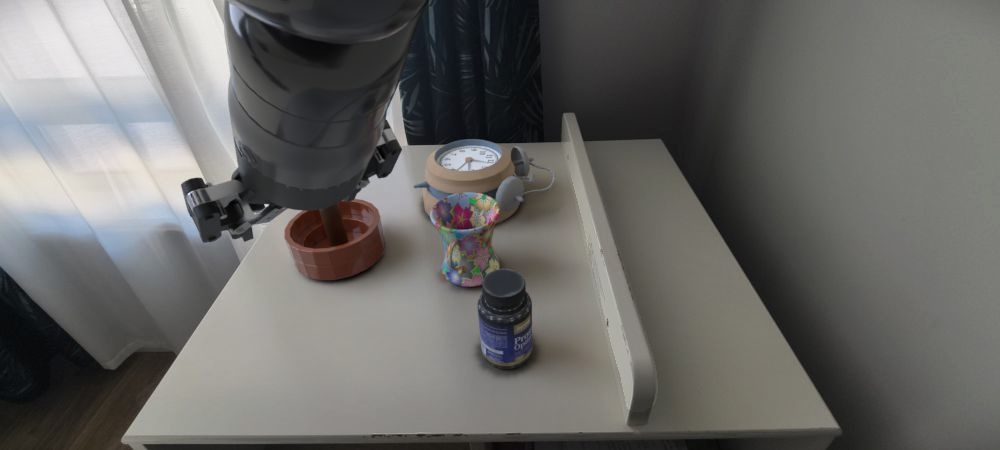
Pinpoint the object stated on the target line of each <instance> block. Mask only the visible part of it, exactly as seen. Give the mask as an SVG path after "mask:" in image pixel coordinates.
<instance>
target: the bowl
mask: <svg viewBox="0 0 1000 450" xmlns="http://www.w3.org/2000/svg"><path fill="white" fill-rule="evenodd" d="M338 204H339V207H340V211H341V214H342V218H343V222H344V225H345V229H346V232H347V236H348V240H349V242H348V243H346V244H344V245H339V246H335V247H330V244H329V240H328V237H327V234H326V231H325V227H324V224H323V221H322V218H321V214H320V211H319V210H310V211H303V210H300V212H298V213H297V214H295V216H293V217H292V218H290V220H289V221H288V223H287V225H286V226H285V228H284V234H283V235H284V241H285V244H286V246H287V249H288V251H289V254H290V257H291V260H292V262H293V265H294V267H295V269H296V270H297V272H298V273H299V274H301V275H302V276H305V277H306V278H308V279H312V280H317V281H337V280H342V279H345V278H349V277H354V276H355V275H357V274H360V273H362V272H364V271H366V270H368V269H369V268H370V267H371V266H374V265H375V264H376V263H377V262H378V261H379V260H380V259H381V257H382V256H383V254H384V253H385V249H386V246H387V241H386V236H385V232H384V228H383V223H382V219H381V214H380V211H379V209H378V208H377V207H376V206H375V205H374V204H373V203H372V202H369V201H367V200H364V199H359V198H355V199H354V200H352V201H350V202H347V203H346V202H345V201H344V200H342V201H340V202H339V203H338Z"/></svg>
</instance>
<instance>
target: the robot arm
mask: <svg viewBox="0 0 1000 450" xmlns="http://www.w3.org/2000/svg"><path fill="white" fill-rule="evenodd" d="M429 1H430V0H223V33H224V40H225V46H226V53H227V60H228V67H229V79H228V86H227V104H228V113H229V119H230V125H231V131H232V136H233V143H234V144H233V145H234V149H235V156H236V162H237V167H236V169H235V170H234V171H233V173H232V174H231V177H230V178H231V179H230V180H227V181H223V182H221V183H217V184H214V185H213V183H212V182H211V181H208V182H206V183H205V180H204V179H203V178H202V177H191V178H188V179H186V180H184V181H182V183H181V184H180V188H181V192H182V195H183V200H184V202H185V206H186V210H187V212H188V215H189V216H190V218H191V219H192V221H193V223H194V225H195V227H196V229H197V232H198V234H199V238H200V240H201V241H202V243H204V244H205V243H213V242H215V241H217V240H218V239H220V238H221V237H222V235H223V234H222V232H224V231H225V232H226V231H228V233H229V236H230V237H231V239H232V240H238V239H241V238H242V240H243V243H246V242H248V241H251V240H253V239H254V232H253V226H255V225H261V224H267V223H270V222H271V221H273V220H275V218H277V217H278V216H280V215H281V214H282V213H283V212H285V211H286V210H288V209H289V210H294V211H310V210H319V209H323V208H327V207H330V206H332V205H335V204H337V203H339V202H340V201H342V200H344V201H345V202H346V203H347V202H350V201H352V200H354V199H356V197H357V195H358V193H360V192H361V191H362V189H364V188H366V187H367V186H368V185H369V184H370V183H371V180H369V179H371V178H372V177H374V176H376V177H377V179H386V178H388V177H389V175H391V174H392V172H393V171H394V168H395V166H396V163H397V161H398V160H399V158H400V155H401V153H402V152H403V148H402V146H401V144H400V143H399V140H398V139H397V136H396V134H395V132H394V131H393V129H392V127H391V125H390V123H389V121H388V119H387V114H388V110H389V107H390V106H391V103H392V101H393V99H394V96H395V93H396V91H397V89H398V87H399V84H400V82H401V79H402V76H403V74H404V70H405V67H406V63H407V59H408V56H409V53H410V49H411V46H412V43H413V40H414V37H415V34H416V32H417V29H418V25H419V23H420V21H421V18H422V16H423V15H424V12H425V9H426V7H427V6H428V4H429ZM265 205H267V206H265Z"/></svg>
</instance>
